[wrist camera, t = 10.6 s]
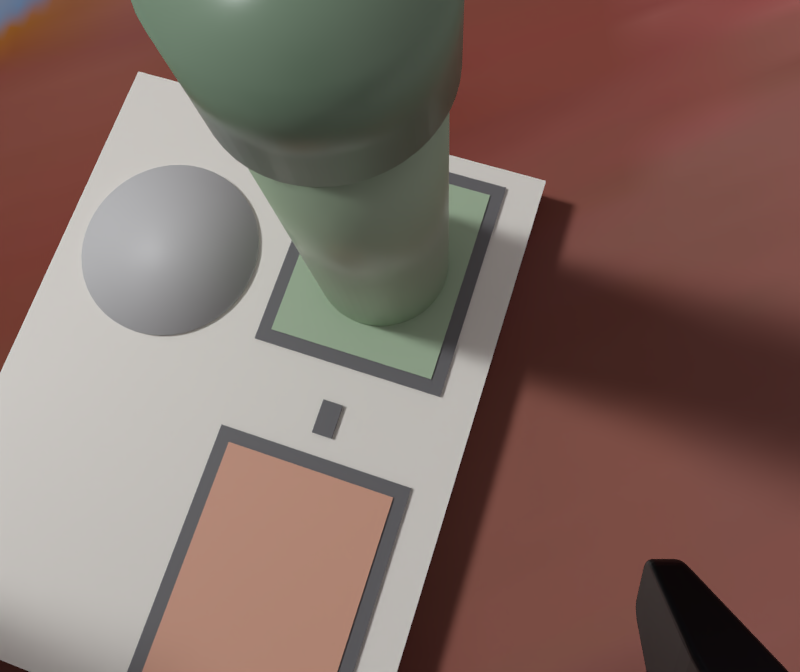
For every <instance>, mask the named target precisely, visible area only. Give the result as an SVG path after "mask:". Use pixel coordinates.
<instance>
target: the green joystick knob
mask: <svg viewBox="0 0 800 672" xmlns="http://www.w3.org/2000/svg"><path fill="white" fill-rule="evenodd" d="M131 2H132V5H133V7H134V10H135V13H136V15H137V17H138V18H139V20H140V22H141V24H142V25H143V27H144V29H145V31H146V32H147V34H148V35H149V37H150V38H151V40H152V41H153V43H154V44H155V46H156V48H157V49H158V51H159V52H160V54H161V55H162V57H163V58H164V60H165V61H166V63H167V65H168V66H169V68H170V69H171V71H172V72H173V74H174V75H175V77H176V78H177V80H178V82H179V83H180V85H181V86H182V88H183V89H184V91H185V92H186V94H187V95H188V97H189V98H190V100H191V102H192V103H193V105H194V106H195V108H196V109H197V111H198V112H199V114H200V115H201V117H202V119H203V120H204V122H205V123H206V125H207V126H208V128H209V129H210V131H211V132H212V134H213V136H214V137H215V138H216V139H217V141H218V142H219V143H220V144H221V146H222V147H223V148H224V149H225V150H226V151H227V152H228V153H229V154H230V155H231V156H232V157H233V158H235V159H236V160H237V161H239V162H240V163H241V164H243V165H244V166H246V167H247V168H248V169H249V171H250V173H251V174H252V176H253V178H254V179H255V181H256V182H257V184H258V186H259V187H260V189H261V191H262V192H263V194H264V196H265V197H266V199H267V201H268V202H269V204H270V206H271V207H272V209H273V210H274V212H275V214H276V215H277V217H278V219H279V220H280V222H281V224H282V225H283V227H284V229H285V230H286V232H287V234H288V235H289V237H290V238H291V240H292V242H293V243H294V245H295V247H296V248H297V250H298V252H299V253H300V255H301V257H302V258H303V260H304V262H305V263H306V265H307V266H308V268H309V270H310V271H311V273H312V275H313V276H314V278H315V280H316V281H317V283H318V285H319V286H320V288H321V290H322V291H323V293H324V294H325V296H326V298H327V299H328V300H329V302H330V303H331V304H332V305H333V306H334V307H335V308H336V309H337V310H338V311H339V312H340V313H342V314H343V315H344V316H346V317H348V318H350V319H352V320H354V321H356V322H359V323H362V324H366V325H372V326H389V325H396V324H399V323H403V322H405V321H408V320H410V319H412V318H414V317H416V316H418V315H419V314H421V313H422V312H423V311H425V310H426V309H427V308H428V307H429V306H430V305H431V304H432V303H433V302H434V300H435V299H436V298H437V297H438V295H439V293H440V292H441V290H442V288H443V286H444V283H445V281H446V277H447V273H448V265H449V111H450V109H451V107H452V104H453V102H454V100H455V97H456V94H457V91H458V87H459V83H460V78H461V69H462V50H463V21H464V0H131Z"/></svg>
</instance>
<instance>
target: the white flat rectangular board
mask: <svg viewBox="0 0 800 672" xmlns="http://www.w3.org/2000/svg"><path fill="white" fill-rule="evenodd" d="M545 182H546V181H544V180H540V179H537V178H533V177H529V176H525V175H522V174H518V173H514V172H511V171H507V170H503V169H499V168H496V167H492V166H488V165H485V164H481V163H477V162H473V161H470V160H466V159H462V158H458V157H455V156H451V155H449V265H448V273H447V277H446V281H445V283H444V286H443V288H442V290H441V292H440V293H439V295H438V297H437V298H436V299H435V300H434V302H433V303H432V304H431V305H430V306H429V307H428V308H427V309H426V310H425V311H423V312H422V313H421V314H419V315H418V316H416V317H414V318H412V319H410V320H408V321H405V322H403V323H399V324H396V325H389V326H372V325H366V324H362V323H359V322H356V321H354V320H352V319H350V318H348V317H346V316H344V315H343V314H342V313H340V312H339V311H338V310H337V309H336V308H335V307H334V306H333V305H332V304H331V303H330V302H329V300H328V299H327V298H326V296H325V294H324V293H323V291H322V290H321V288H320V286H319V285H318V283H317V281H316V280H315V278H314V276H313V275H312V273H311V271H310V270H309V268H308V266H307V265H306V263H305V262H304V260H303V258H302V257H301V255H300V253H299V252H298V250H297V248H296V247H295V245H294V243H293V242H292V240H291V238H290V237H289V235H288V234H287V232H286V230H285V229H284V227H283V225H282V224H281V222H280V220H279V219H278V217H277V215H276V214H275V212H274V210H273V209H272V207H271V206H270V204H269V202H268V201H267V199H266V197H265V196H264V194H263V192H262V191H261V189H260V187H259V186H258V184H257V182H256V181H255V179H254V178H253V176H252V174H251V173H250V171H249V169H248V168H247V167H246V166H244V165H243V164H241V163H240V162H239V161H237V160H236V159H235V158H233V157H232V156H231V155H230V154H229V153H228V152H227V151H226V150H225V149H224V148H223V147H222V146H221V144H220V143H219V142H218V141H217V139H216V138H215V137H214V136H213V134H212V132H211V131H210V129H209V128H208V126H207V125H206V123H205V122H204V120H203V119H202V117H201V115H200V114H199V112H198V111H197V109H196V108H195V106H194V105H193V103H192V102H191V100H190V98H189V97H188V95H187V94H186V92H185V91H184V89H183V88H182V86H181V85H180V83H179V82H176V81H172V80H168V79H164V78H161V77H157V76H153V75H149V74H146V73H142V72H138V74H137V76H136V78H135V80H134V82H133V84H132V87H131V89H130V91H129V93H128V95H127V98H126V100H125V102H124V104H123V106H122V108H121V111H120V113H119V115H118V117H117V119H116V122H115V124H114V126H113V128H112V130H111V132H110V135H109V137H108V139H107V141H106V143H105V146H104V148H103V150H102V152H101V154H100V156H99V159H98V161H97V163H96V165H95V167H94V170H93V172H92V174H91V176H90V178H89V180H88V183H87V185H86V187H85V189H84V191H83V194H82V196H81V198H80V200H79V202H78V204H77V207H76V209H75V211H74V213H73V215H72V218H71V220H70V222H69V224H68V226H67V228H66V231H65V233H64V235H63V237H62V239H61V242H60V244H59V246H58V248H57V250H56V252H55V255H54V257H53V259H52V261H51V263H50V266H49V268H48V270H47V272H46V274H45V276H44V279H43V281H42V283H41V285H40V287H39V290H38V292H37V294H36V296H35V298H34V300H33V303H32V305H31V307H30V309H29V311H28V314H27V316H26V318H25V320H24V322H23V324H22V327H21V329H20V331H19V333H18V335H17V338H16V340H15V342H14V344H13V346H12V348H11V351H10V353H9V355H8V357H7V359H6V362H5V364H4V366H3V368H2V370H1V372H0V660H2V661H4V662H7V663H9V664H12V665H14V666H17V667H19V668H22V669H24V670H27V671H29V672H397V670H398V667H399V664H400V660H401V657H402V654H403V650H404V647H405V644H406V640H407V637H408V634H409V631H410V627H411V624H412V621H413V617H414V614H415V611H416V608H417V604H418V601H419V598H420V594H421V591H422V588H423V584H424V581H425V578H426V575H427V571H428V568H429V565H430V561H431V558H432V555H433V551H434V548H435V545H436V542H437V538H438V535H439V532H440V528H441V525H442V522H443V519H444V515H445V512H446V509H447V505H448V502H449V499H450V495H451V492H452V489H453V486H454V482H455V479H456V476H457V472H458V469H459V466H460V463H461V459H462V456H463V453H464V449H465V446H466V443H467V439H468V436H469V433H470V430H471V426H472V423H473V420H474V416H475V413H476V410H477V406H478V403H479V400H480V397H481V393H482V390H483V387H484V383H485V380H486V377H487V374H488V370H489V367H490V364H491V360H492V357H493V354H494V350H495V347H496V344H497V341H498V337H499V334H500V331H501V327H502V324H503V321H504V317H505V314H506V311H507V308H508V304H509V301H510V298H511V294H512V291H513V288H514V285H515V281H516V278H517V275H518V271H519V268H520V265H521V261H522V258H523V255H524V252H525V248H526V245H527V242H528V238H529V235H530V232H531V229H532V225H533V222H534V219H535V215H536V212H537V209H538V205H539V202H540V199H541V196H542V192H543V189H544V186H545Z"/></svg>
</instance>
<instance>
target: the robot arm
mask: <svg viewBox="0 0 800 672" xmlns="http://www.w3.org/2000/svg"><path fill="white" fill-rule="evenodd" d="M636 617H637V624H638V629H639V634H640V639H641V645H642V650H643V655H644V660H645V666H646V671H647V672H788V671H787V670H786V669H785V667H784V666H783V665H782V664H781V663H780V662H779V661H778V660H777V659H776V658H775V657H774V656H773V655H772V654H771V653H770V652H769V651H768V650H767V649H766V648H765V646H764V645H763V644H762V643H761V642H760V641H759V640H758V639H757V638H756V637H755V636H754V635H753V634H752V633H751V632H750V631H749V630H748V629H747V628H746V627H745V625H744V624H743V623H742V622H741V621H740V620H739V619H738V618H737V617H736V616H735V615H734V614H733V613H732V612H731V611H730V610H729V609H728V608H727V607H726V606H725V604H724V603H723V602H722V601H721V600H720V599H719V598H718V597H717V596H716V595H715V594H714V593H713V592H712V591H711V590H710V589H709V588H708V587H707V586H706V585H705V583H704V582H703V581H702V580H701V579H700V578H699V577H698V576H697V575H696V574H695V573H694V572H693V571H692V570H691V569H690V568H689V567H688V566H687V565H686V564H685V563H684V562H682V561H680V560H677V559H651V560H648V561H647V562H646V563H645V566H644V569H643V573H642V578H641V582H640V587H639V591H638V595H637V600H636Z"/></svg>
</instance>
